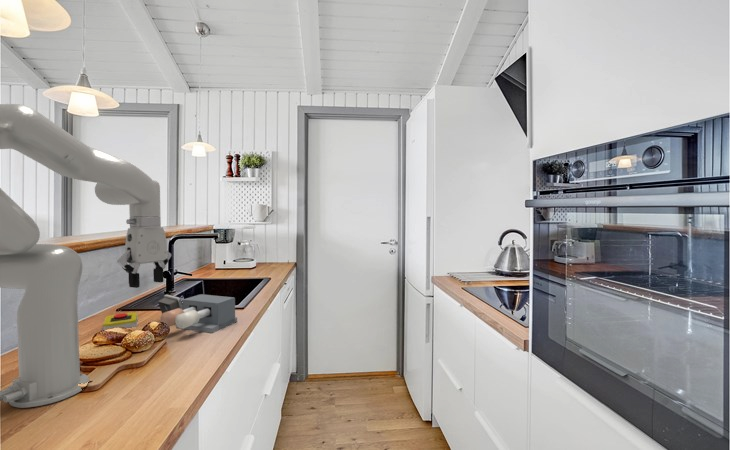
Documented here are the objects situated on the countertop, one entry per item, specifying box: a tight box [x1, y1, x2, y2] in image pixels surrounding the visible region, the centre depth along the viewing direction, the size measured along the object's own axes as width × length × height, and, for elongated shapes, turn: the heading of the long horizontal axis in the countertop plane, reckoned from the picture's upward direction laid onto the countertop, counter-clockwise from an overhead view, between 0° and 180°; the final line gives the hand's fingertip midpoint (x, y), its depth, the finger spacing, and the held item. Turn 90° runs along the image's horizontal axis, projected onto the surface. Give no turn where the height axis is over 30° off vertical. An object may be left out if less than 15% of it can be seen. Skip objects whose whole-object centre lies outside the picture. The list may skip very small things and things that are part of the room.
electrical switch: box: [157, 294, 183, 315], centre depth 121 cm, size 9×5×9 cm, turn 57°
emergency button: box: [102, 311, 139, 331], centre depth 117 cm, size 9×4×15 cm
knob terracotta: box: [160, 306, 197, 327], centre depth 111 cm, size 12×4×4 cm, turn 161°
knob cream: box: [175, 308, 211, 330], centre depth 109 cm, size 12×4×4 cm, turn 161°
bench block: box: [175, 293, 238, 334], centre depth 117 cm, size 12×15×9 cm
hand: (146, 284), depth 100 cm, fingers open, 6 cm apart
